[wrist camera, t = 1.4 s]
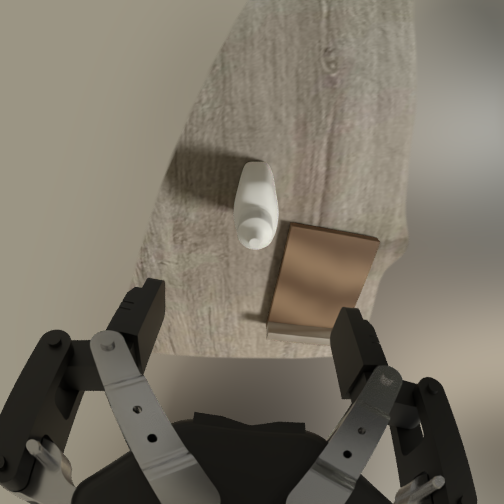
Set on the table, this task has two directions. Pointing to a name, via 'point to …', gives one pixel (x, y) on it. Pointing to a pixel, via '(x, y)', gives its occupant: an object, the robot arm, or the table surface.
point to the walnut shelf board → (317, 282)
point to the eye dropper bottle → (256, 206)
